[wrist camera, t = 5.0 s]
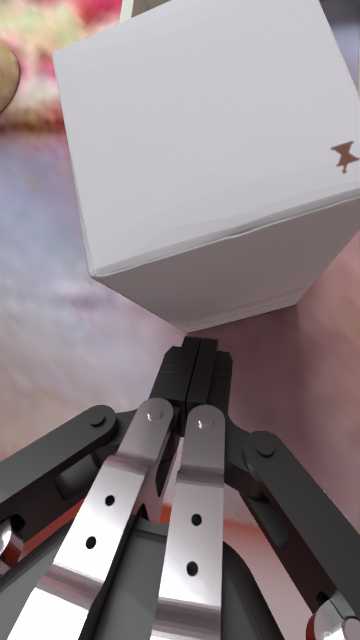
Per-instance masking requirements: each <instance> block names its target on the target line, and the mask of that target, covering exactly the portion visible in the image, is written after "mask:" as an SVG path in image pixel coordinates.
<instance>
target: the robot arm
mask: <svg viewBox="0 0 360 640" xmlns="http://www.w3.org/2000/svg"><path fill="white" fill-rule="evenodd" d="M218 342H219V341H218V339H209V338H202V339H201V338H199V337H189V336H185V338H184V341H183V344H182V347H176V346H172V347H171V348H170V349H169V350H168V351H167V352H166V353H165V356H164V359H163V361H162V364H161V367H160V371H159V372H158V375H157V378H156V380H155V383H154V386H153V388H152V391H151V394H150V397H149V399H148V400H146V401H144V402H143V403H142V404H141V405H140V406H139V408H138V409H136V410H133V411H128V412H121V413H115V412H114V410H113V409H112V408H110V407H109V406H106V405H97V406H93V407H91V408H89V409H87V410H86V411H84V412H82V413H81V414H79V415H78V416H76V417H74V418H73V419H71V420H69V421H68V422H66V423H64V424H63V425H61V426H59V427H58V428H56V429H54V430H53V431H51V432H49V433H48V434H46V435H45V436H43V437H41V438H40V439H38V440H36V441H35V442H33V443H31V444H30V445H28V446H26V447H25V448H23V449H21V450H20V451H18V452H16V453H15V454H13V455H12V456H10V457H8V458H7V459H5V460H3V461H2V462H0V640H285V639H284V637H283V635H282V633H281V631H280V629H279V627H278V625H277V623H276V621H275V619H274V617H273V615H272V613H271V611H270V609H269V607H268V605H267V603H266V601H265V599H264V597H263V595H262V593H261V591H260V589H259V587H258V585H257V583H256V581H255V579H254V577H253V575H252V573H251V571H250V569H249V568H248V566H247V565H246V563H245V562H244V560H243V559H242V558H241V557H240V555H239V554H238V553H237V552H236V551H235V550H234V549H233V548H232V547H231V546H229V545H228V544H227V543H225V542H224V541H223V505H224V483H226V484H227V485H229V486H231V487H233V488H234V489H236V490H238V491H239V494H240V496H241V498H242V499H243V501H244V502H245V504H246V506H247V507H248V509H249V511H250V512H251V514H252V515H253V517H254V519H255V520H256V522H257V524H258V525H259V527H260V529H261V530H262V532H263V533H264V535H265V537H266V538H267V540H268V542H269V543H270V545H271V546H272V548H273V550H274V551H275V553H276V555H277V556H278V558H279V559H280V561H281V563H282V564H283V566H284V568H285V569H286V571H287V573H288V574H289V576H290V578H291V579H292V581H293V582H294V584H295V586H296V587H297V589H298V591H299V592H300V594H301V596H302V597H303V599H304V600H305V602H306V604H307V605H308V607H309V608H310V610H311V612H312V614H313V615H312V616H311V618H310V619H309V621H308V624H307V628H306V640H360V535H359V533H358V532H357V531H356V530H355V529H354V527H353V526H352V525H351V524H350V523H349V521H348V520H347V519H346V518H345V517H344V515H343V514H342V513H341V512H340V511H339V509H338V508H337V507H336V506H335V505H334V503H333V502H332V501H331V500H330V499H329V497H328V496H327V495H326V494H325V493H324V491H323V490H322V489H321V488H320V487H319V485H318V484H317V483H316V482H315V481H314V479H313V478H312V477H311V476H310V475H309V473H308V472H307V471H306V470H305V469H304V467H303V466H302V465H301V464H300V463H299V461H298V460H297V459H296V458H295V457H294V455H293V454H292V453H291V452H290V451H289V449H288V448H287V447H286V446H285V445H284V443H283V442H282V441H281V440H280V439H279V438H278V437H277V436H276V435H274V434H272V433H270V432H267V431H255V432H252V433H249V432H247V431H245V430H242V429H241V428H239V427H237V426H236V425H235V424H234V423H233V422H232V421H231V420H230V418H229V416H228V407H229V397H230V388H231V377H232V363H233V361H232V358H231V356H230V354H229V352H222V351H218ZM180 437H185V438H184V445H183V452H182V459H181V466H180V470H179V471H178V473H177V478H176V484H175V491H174V497H173V504H172V511H171V519H170V523H169V524H158V523H159V519H160V514H161V505H162V501H163V497H164V494H165V491H166V488H167V485H168V482H169V478H170V475H171V472H172V469H173V466H174V463H175V460H176V456H177V449H178V445H179V441H180ZM86 496H87V497H86ZM85 497H86V499H85V501H84V503H83V505H82V507H81V509H80V511H79V512H78V514H77V516H76V518H74V519H72V520H71V521H69V522H67V523H66V524H65V525H63V526H62V527H61V528H59V529H58V530H57V531H56V532H54V533H53V534H52V535H51V536H50V537H48V538H47V539H46V540H45V541H44V542H42V543H41V544H40V545H39V546H37V547H36V548H35V549H34V550H33V551H31V552H30V553H29V554H28V555H26V556H25V557H24V558H23V559H22V560H20V561H19V562H18V560H19V557H20V554H21V552H22V547H23V544H24V543H25V542H27V541H28V540H29V539H31V538H32V537H33V536H34V535H36V534H37V533H39V532H40V531H41V530H42V529H44V528H45V527H46V526H47V525H49V524H50V523H52V522H53V521H54V520H56V519H57V518H58V517H60V516H61V515H62V514H64V513H65V512H66V511H67V510H69V509H70V508H72V507H73V506H74V505H76V504H77V503H78V502H80V501H81V500H82V499H83V498H85ZM17 562H18V563H17Z"/></svg>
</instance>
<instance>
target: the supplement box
mask: <svg viewBox="0 0 360 640" xmlns="http://www.w3.org/2000/svg"><path fill="white" fill-rule="evenodd" d="M52 59H53V64H54V69H55V75H56V80H57V85H58V91H59V96H60V101H61V106H62V112H63V117H64V123H65V128H66V133H67V138H68V144H69V150H70V157H71V163H72V170H73V176H74V182H75V189H76V195H77V202H78V208H79V215H80V222H81V228H82V233H83V239H84V246H85V252H86V259H87V266H88V273H89V275H90V277H91V278H92V279H94V280H96V281H98V282H100V283H102V284H103V285H105V286H107V287H109V288H111V289H112V290H114V291H116V292H118V293H119V294H121V295H123V296H124V297H126V298H128V299H130V300H131V301H133V302H135V303H136V304H138V305H140V306H141V307H143V308H145V309H147V310H148V311H150V312H151V313H153V314H155V315H157V316H158V317H160V318H162V319H163V320H165V321H167V322H169V323H170V324H172V325H174V326H176V327H177V328H179V329H181V330H182V331H184V332H186V333H188V332H193V331H197V330H201V329H205V328H209V327H213V326H217V325H221V324H225V323H229V322H232V321H236V320H240V319H244V318H247V317H251V316H255V315H258V314H262V313H266V312H270V311H273V310H277V309H281V308H284V307H288V306H292V305H295V304H296V303H297V302H298V301H299V300H300V298H301V297H302V296H303V295H304V294H305V293H306V291H307V290H308V289H309V288H310V287H311V286H312V284H313V283H314V282H315V281H316V280H317V279H318V277H319V276H320V275H321V274H322V273H323V272H324V270H325V269H326V268H327V267H328V266H329V265H330V263H331V262H332V261H333V260H334V259H335V258H336V256H337V255H338V254H339V253H340V252H341V251H342V249H343V248H344V247H345V246H346V245H347V244H348V242H349V241H350V240H351V239H352V238H353V237H354V235H355V234H356V233H357V232H358V231H359V229H360V97H359V94H358V92H357V90H356V87H355V85H354V83H353V80H352V78H351V76H350V73H349V71H348V68H347V66H346V63H345V61H344V59H343V56H342V54H341V52H340V50H339V47H338V45H337V42H336V40H335V37H334V35H333V33H332V30H331V28H330V25H329V23H328V21H327V18H326V16H325V14H324V11H323V9H322V7H321V4H320V2H319V0H171V1H169V2H167V3H164V4H162V5H160V6H158V7H155V8H153V9H151V10H148V11H146V12H144V13H142V14H139V15H137V16H135V17H133V18H130V19H128V20H126V21H124V22H121V23H119V24H117V25H114V26H112V27H110V28H108V29H105V30H103V31H101V32H98V33H96V34H94V35H92V36H89V37H87V38H84V39H82V40H80V41H77V42H75V43H72V44H70V45H68V46H65V47H63V48H61V49H58V50H56V51H54V52H53V53H52Z"/></svg>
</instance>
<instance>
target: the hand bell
mask: <svg viewBox="0 0 360 640" xmlns="http://www.w3.org/2000/svg"><path fill="white" fill-rule="evenodd" d="M19 75H20V67H19V63H18V60H17V57H16V55H15V54H14V52H13V51H12V50H11V49H10V48H9V47H8V46H6V45H5V44H3V43H2V42H0V112H1V111H2V110H3V109H4V108H5V106H6V105H7V104H8V103H9V101H10V100H11V99H12V97H13V95H14V93H15V91H16V88H17V85H18V82H19Z"/></svg>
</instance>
